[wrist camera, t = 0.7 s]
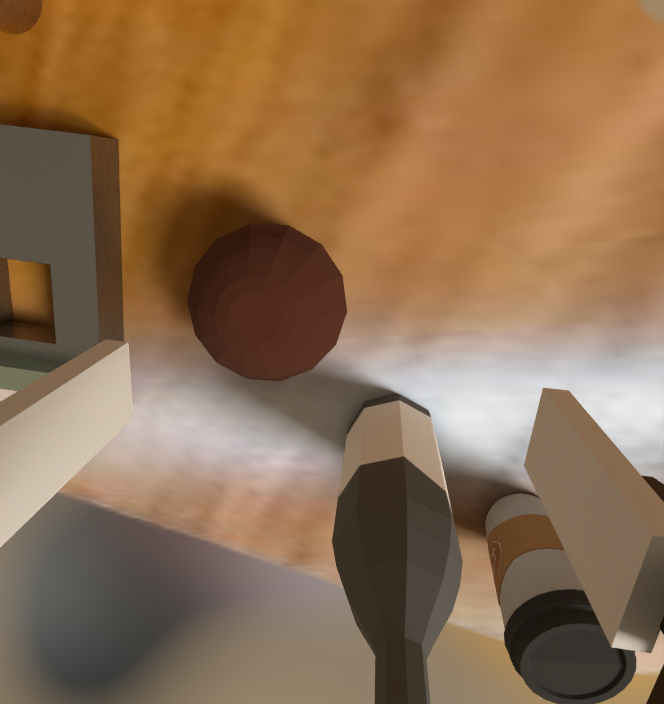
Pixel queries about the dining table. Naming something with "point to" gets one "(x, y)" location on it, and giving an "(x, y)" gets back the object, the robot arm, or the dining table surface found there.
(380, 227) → the dining table surface
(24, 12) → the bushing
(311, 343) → the muffin
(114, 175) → the jig
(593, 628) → the coffee cup
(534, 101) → the dining table surface
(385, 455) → the wine bottle
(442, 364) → the dining table surface
